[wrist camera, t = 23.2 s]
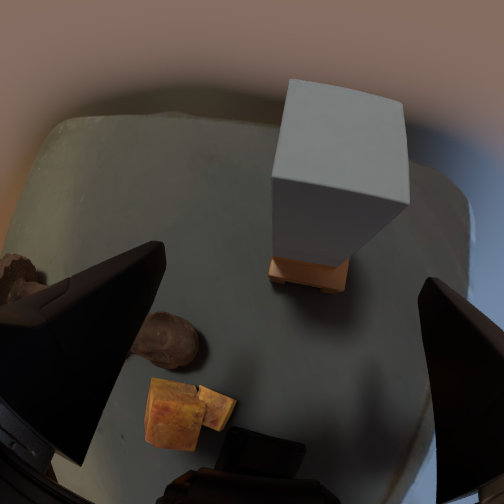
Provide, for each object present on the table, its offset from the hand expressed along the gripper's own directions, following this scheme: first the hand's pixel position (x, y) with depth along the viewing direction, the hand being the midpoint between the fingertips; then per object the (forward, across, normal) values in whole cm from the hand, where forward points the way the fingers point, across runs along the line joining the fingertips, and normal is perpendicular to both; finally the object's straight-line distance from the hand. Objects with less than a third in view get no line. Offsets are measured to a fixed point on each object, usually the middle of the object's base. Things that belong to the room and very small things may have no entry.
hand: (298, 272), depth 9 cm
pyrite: (0, +4, +17) cm, 17 cm away
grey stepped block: (+12, -1, +3) cm, 12 cm away
